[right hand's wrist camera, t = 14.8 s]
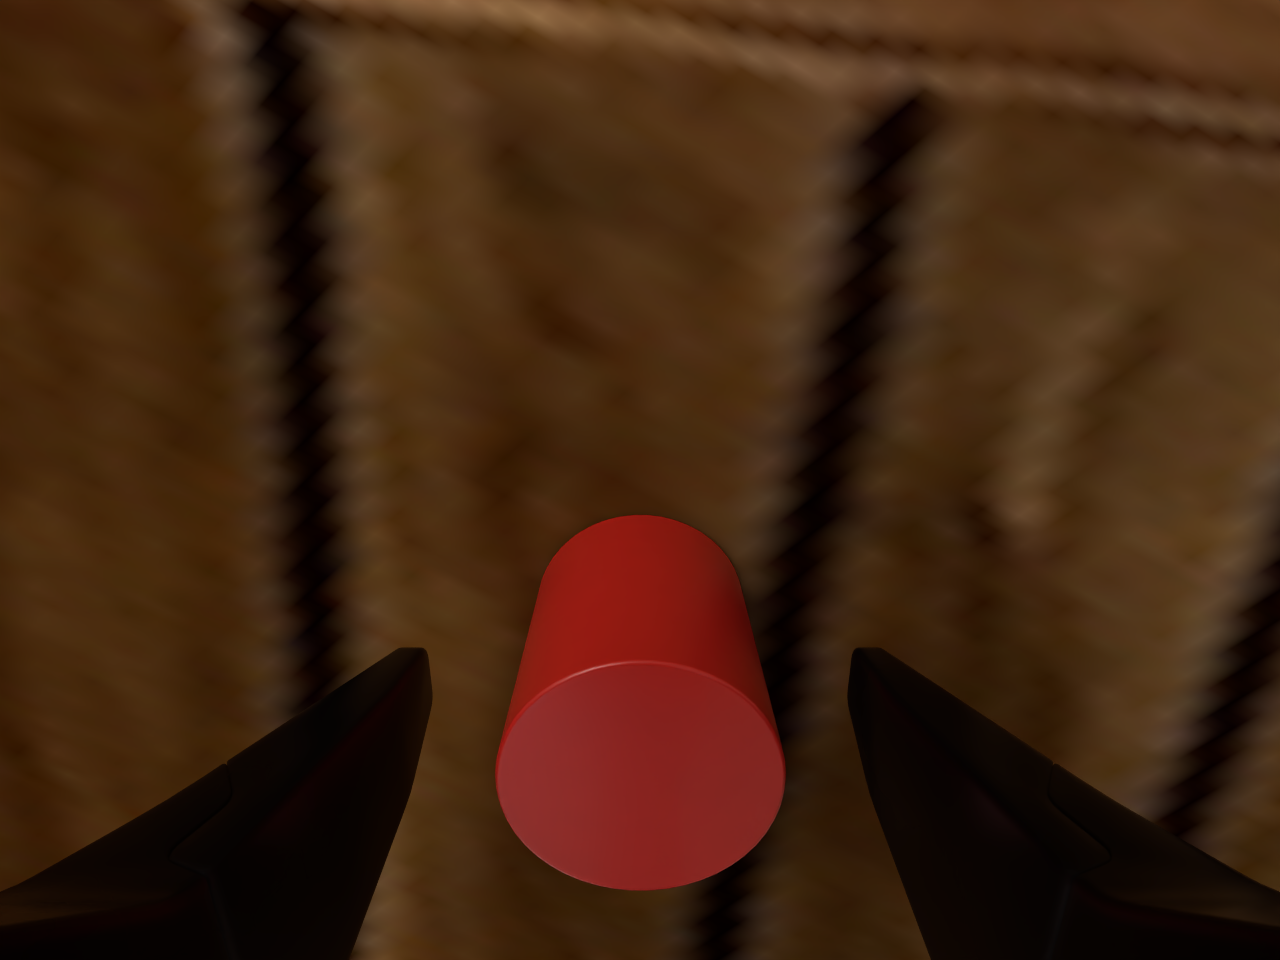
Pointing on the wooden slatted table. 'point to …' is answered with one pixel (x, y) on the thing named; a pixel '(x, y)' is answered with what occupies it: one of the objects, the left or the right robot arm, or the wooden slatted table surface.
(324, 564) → the wooden slatted table surface
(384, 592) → the wooden slatted table surface
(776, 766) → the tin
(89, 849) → the right robot arm
